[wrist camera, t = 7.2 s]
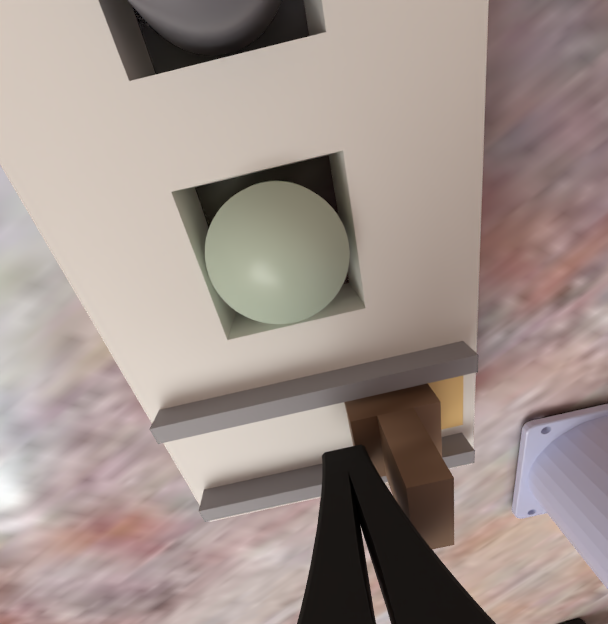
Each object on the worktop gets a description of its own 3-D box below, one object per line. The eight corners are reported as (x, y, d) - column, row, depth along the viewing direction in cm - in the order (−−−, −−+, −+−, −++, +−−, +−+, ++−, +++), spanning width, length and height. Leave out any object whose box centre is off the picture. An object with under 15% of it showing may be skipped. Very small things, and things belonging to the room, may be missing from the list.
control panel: (427, -345, 6) (568, -833, 3) (444, 421, 16) (485, 482, 13) (-118, -197, 7) (-466, -523, 3) (219, 471, 16) (205, 543, 13)
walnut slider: (427, 382, 11) (489, 469, 8) (429, 441, 12) (484, 537, 9) (343, 400, 11) (371, 495, 8) (355, 457, 12) (383, 559, 9)
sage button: (323, 166, 10) (336, 164, 8) (343, 281, 11) (358, 307, 9) (203, 195, 10) (181, 202, 8) (240, 305, 12) (231, 337, 9)
